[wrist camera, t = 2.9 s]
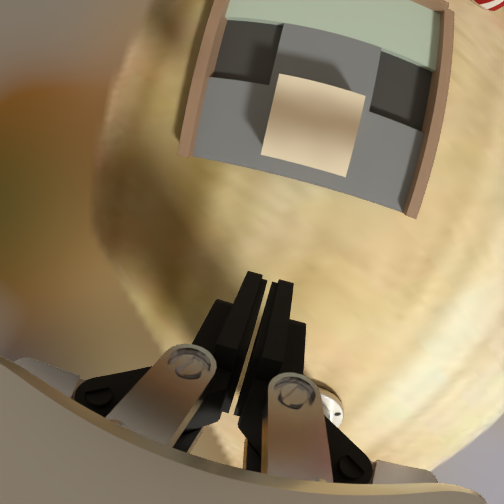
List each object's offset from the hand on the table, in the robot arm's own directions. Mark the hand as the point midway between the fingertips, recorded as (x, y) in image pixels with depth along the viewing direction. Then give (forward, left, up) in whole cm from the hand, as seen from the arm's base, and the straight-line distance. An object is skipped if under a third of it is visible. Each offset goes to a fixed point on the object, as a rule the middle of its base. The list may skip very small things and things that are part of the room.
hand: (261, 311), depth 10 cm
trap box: (+13, 0, -15) cm, 20 cm away
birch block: (+7, 0, -14) cm, 16 cm away
